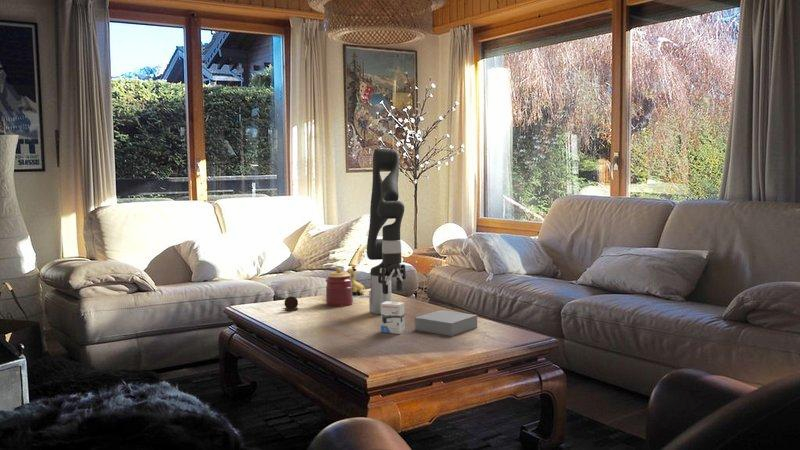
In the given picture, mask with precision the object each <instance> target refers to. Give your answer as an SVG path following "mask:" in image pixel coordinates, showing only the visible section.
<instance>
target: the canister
mask: <svg viewBox="0 0 800 450" xmlns="http://www.w3.org/2000/svg"><path fill="white" fill-rule="evenodd" d="M352 280H353V279H352V278H351V274H349V273H348V272H347V271H344V270H342V268H341V267H337V268H336V270H335V271H332V272H330V273H328V274H327V278H326V279H325V282H326V286H325V294H326V295H325V298H326V299H325V303H326V305H327V306H329V307H348V306H351V305H353V303H354V298H353V294H352V287H353V286H352Z"/></svg>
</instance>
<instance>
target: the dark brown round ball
mask: <svg viewBox="0 0 800 450" xmlns="http://www.w3.org/2000/svg"><path fill="white" fill-rule="evenodd" d="M298 304H299V301H298V298H296V297H295V296H292V295H289V296H287V297H286V298H285V300H284V307H282V310H284V311H287V312H294V311H295V312H296V311H298V310H299V307H298Z"/></svg>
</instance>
